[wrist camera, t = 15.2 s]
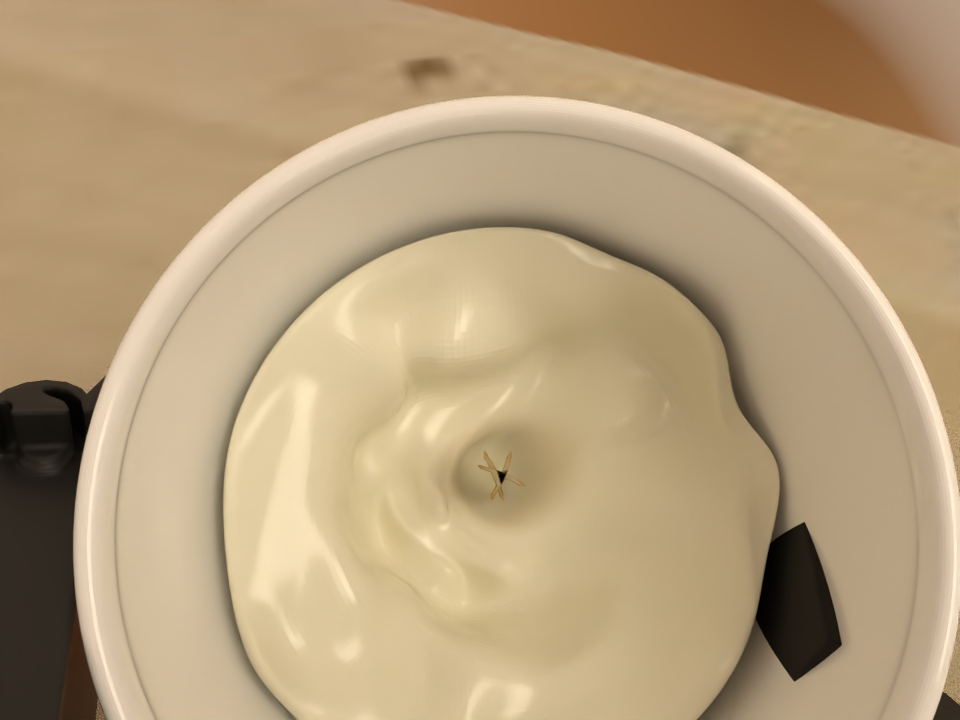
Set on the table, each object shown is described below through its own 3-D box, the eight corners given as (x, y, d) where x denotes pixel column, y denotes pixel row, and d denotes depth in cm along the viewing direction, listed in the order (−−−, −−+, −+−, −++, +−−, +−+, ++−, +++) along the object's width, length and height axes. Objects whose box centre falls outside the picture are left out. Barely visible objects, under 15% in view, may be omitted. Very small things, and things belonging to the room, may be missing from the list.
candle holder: (588, 261, 21) (738, -20, 9) (737, 601, 20) (1136, 775, 8) (253, 392, 21) (-42, 264, 9) (382, 754, 19) (239, 1193, 7)
